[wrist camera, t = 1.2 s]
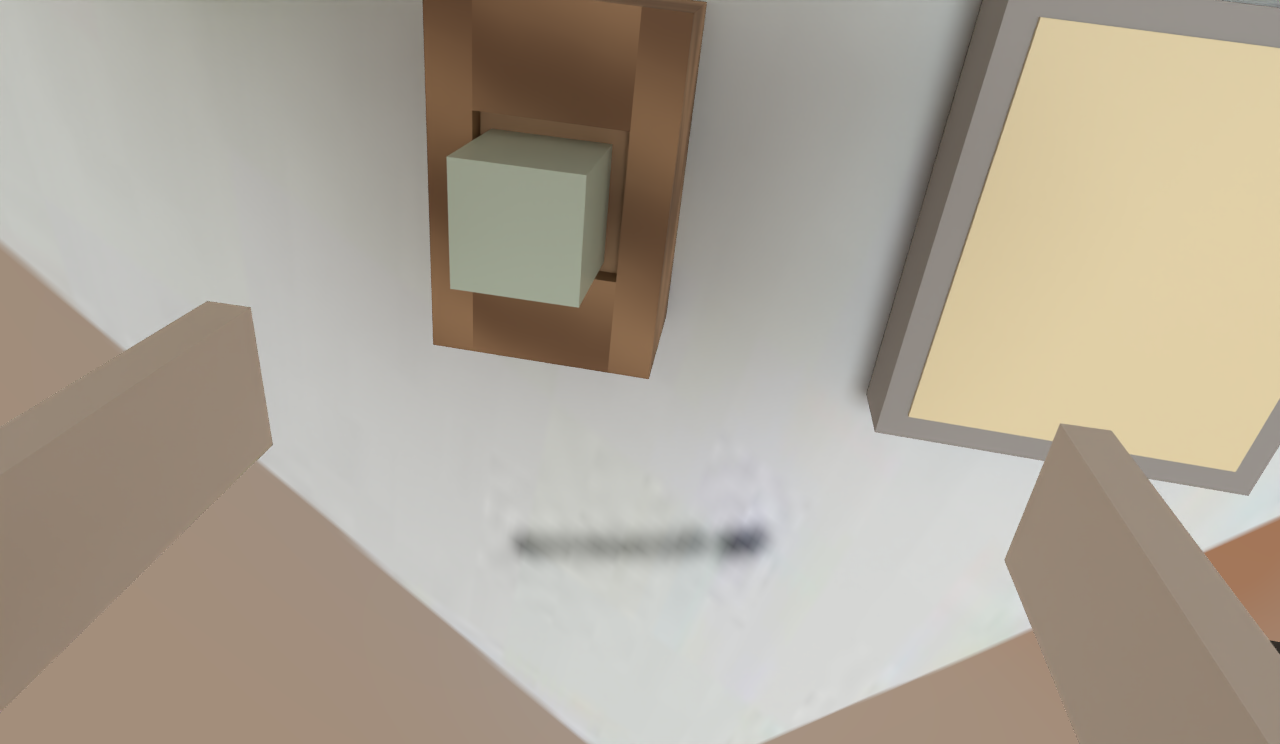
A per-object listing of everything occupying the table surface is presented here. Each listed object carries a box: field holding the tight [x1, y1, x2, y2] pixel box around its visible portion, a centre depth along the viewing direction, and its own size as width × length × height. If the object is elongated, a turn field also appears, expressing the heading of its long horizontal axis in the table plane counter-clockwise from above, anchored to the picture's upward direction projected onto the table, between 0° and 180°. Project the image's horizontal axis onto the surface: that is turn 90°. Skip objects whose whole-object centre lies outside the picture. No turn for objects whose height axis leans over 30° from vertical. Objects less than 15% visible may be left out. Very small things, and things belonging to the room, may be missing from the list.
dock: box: [867, 0, 1280, 496], centre depth 27 cm, size 16×14×3 cm
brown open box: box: [423, 0, 707, 379], centre depth 28 cm, size 12×8×6 cm, turn 174°
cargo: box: [447, 129, 613, 308], centre depth 24 cm, size 4×4×4 cm
